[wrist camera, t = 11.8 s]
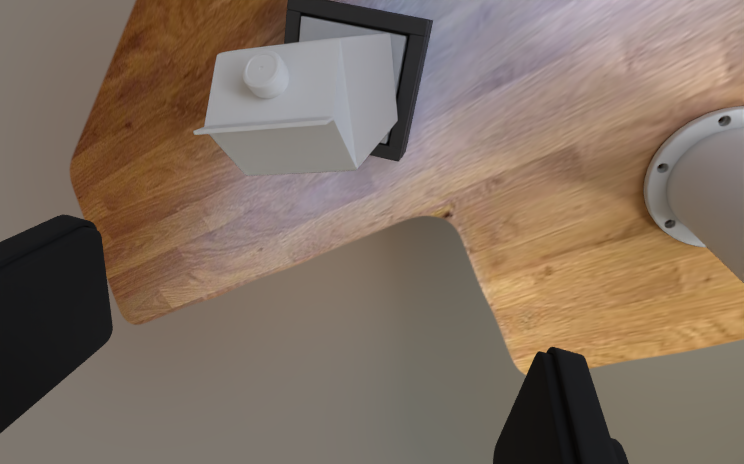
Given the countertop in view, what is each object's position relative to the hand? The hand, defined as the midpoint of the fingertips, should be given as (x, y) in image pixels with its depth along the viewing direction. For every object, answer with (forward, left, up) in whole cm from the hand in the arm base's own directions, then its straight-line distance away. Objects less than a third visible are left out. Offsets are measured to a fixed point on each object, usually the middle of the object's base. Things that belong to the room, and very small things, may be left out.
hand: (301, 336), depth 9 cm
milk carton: (+7, 0, -32) cm, 33 cm away
